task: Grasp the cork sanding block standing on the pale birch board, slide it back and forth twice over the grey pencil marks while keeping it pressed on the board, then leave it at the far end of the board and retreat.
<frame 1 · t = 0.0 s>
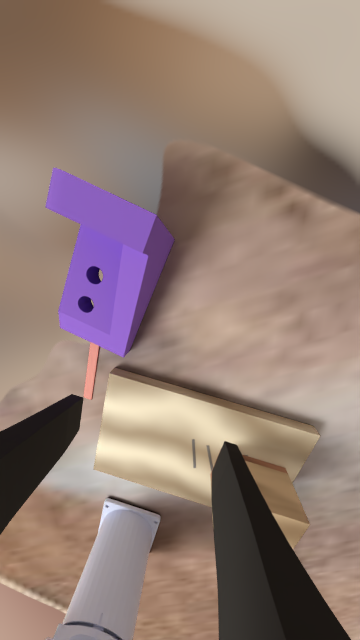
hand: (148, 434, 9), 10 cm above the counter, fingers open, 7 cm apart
sanding block: (246, 471, 20), point 1 cm above the counter, touching board
bracket: (119, 285, 18), on the counter, touching carpenter pencil
carpenter pencil: (95, 366, 21), on the counter, touching bracket
board: (194, 444, 21), on the counter
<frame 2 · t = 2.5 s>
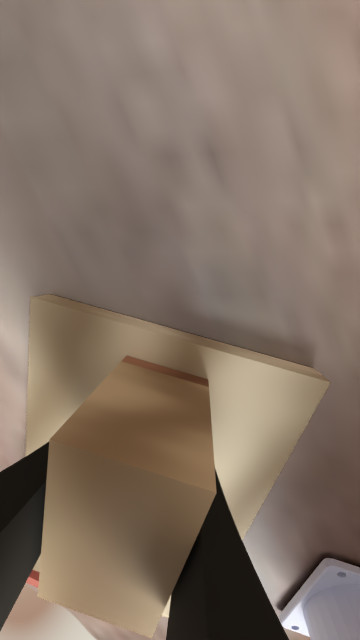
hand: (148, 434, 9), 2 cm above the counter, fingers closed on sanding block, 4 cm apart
sanding block: (151, 425, 9), point 1 cm above the counter, touching board, gripper
board: (138, 479, 12), on the counter
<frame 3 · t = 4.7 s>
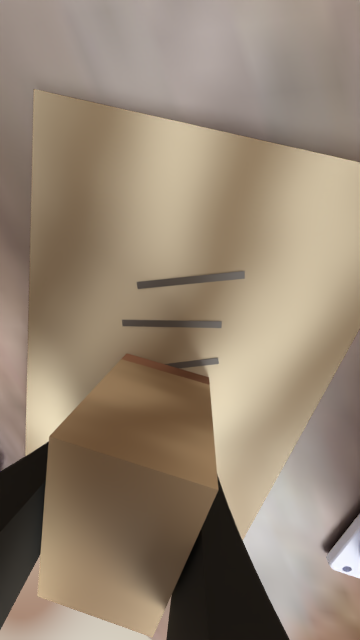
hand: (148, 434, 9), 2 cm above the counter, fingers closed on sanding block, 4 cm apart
sanding block: (151, 423, 9), point 1 cm above the counter, touching gripper
board: (162, 385, 10), on the counter
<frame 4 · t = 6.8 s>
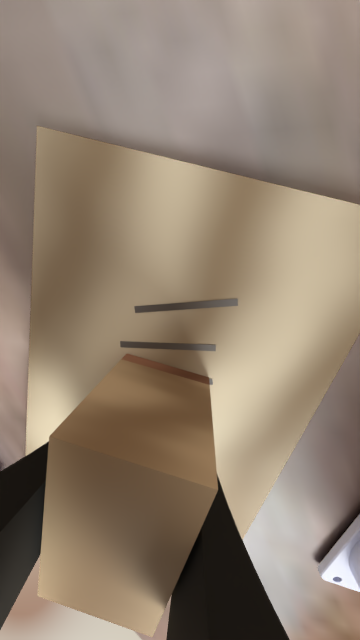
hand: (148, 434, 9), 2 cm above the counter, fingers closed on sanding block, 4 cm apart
sanding block: (151, 423, 9), point 1 cm above the counter, touching gripper
board: (159, 401, 10), on the counter
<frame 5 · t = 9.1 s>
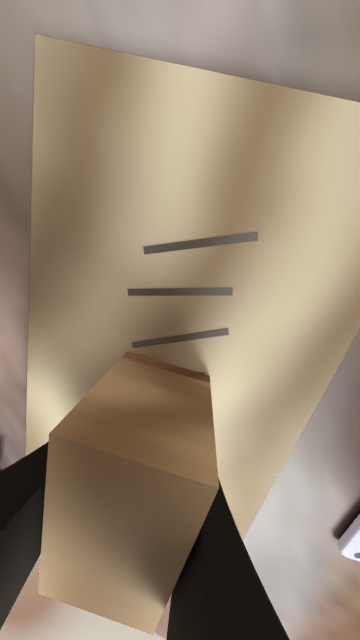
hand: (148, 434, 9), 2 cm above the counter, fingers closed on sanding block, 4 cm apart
sanding block: (152, 422, 9), point 1 cm above the counter, touching gripper
board: (168, 363, 10), on the counter
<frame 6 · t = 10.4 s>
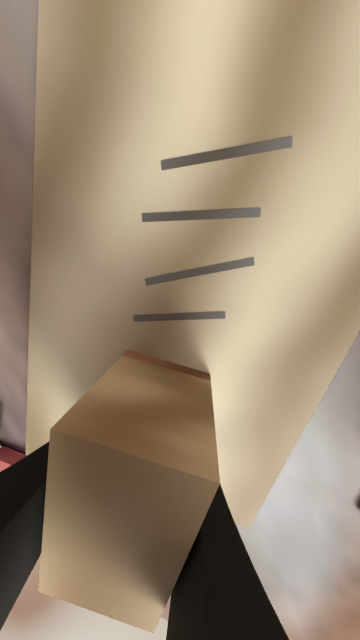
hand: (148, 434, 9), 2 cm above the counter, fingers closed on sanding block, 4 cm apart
sanding block: (152, 420, 9), point 1 cm above the counter, touching gripper
carpenter pencil: (53, 470, 13), on the counter, touching bracket
board: (182, 311, 9), on the counter
when the fingers open (2 cm above the counter, at t = 11.0 s): sanding block stays where it is, resting on board.
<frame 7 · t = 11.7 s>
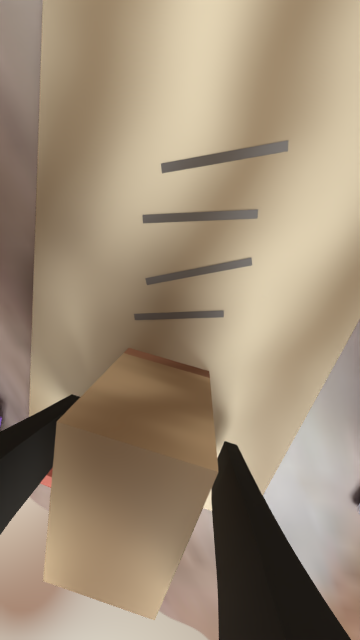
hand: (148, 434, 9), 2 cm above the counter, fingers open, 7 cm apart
sanding block: (153, 417, 10), point 1 cm above the counter, touching board
board: (182, 310, 9), on the counter
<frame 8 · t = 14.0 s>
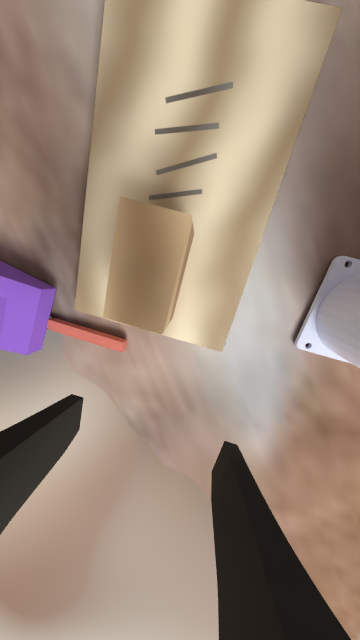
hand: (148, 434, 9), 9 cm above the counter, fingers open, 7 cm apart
sanding block: (159, 271, 15), point 1 cm above the counter, touching board
carpenter pencil: (89, 333, 18), on the counter, touching bracket
board: (178, 201, 15), on the counter
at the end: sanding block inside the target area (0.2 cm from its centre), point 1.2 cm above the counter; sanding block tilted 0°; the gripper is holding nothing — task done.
